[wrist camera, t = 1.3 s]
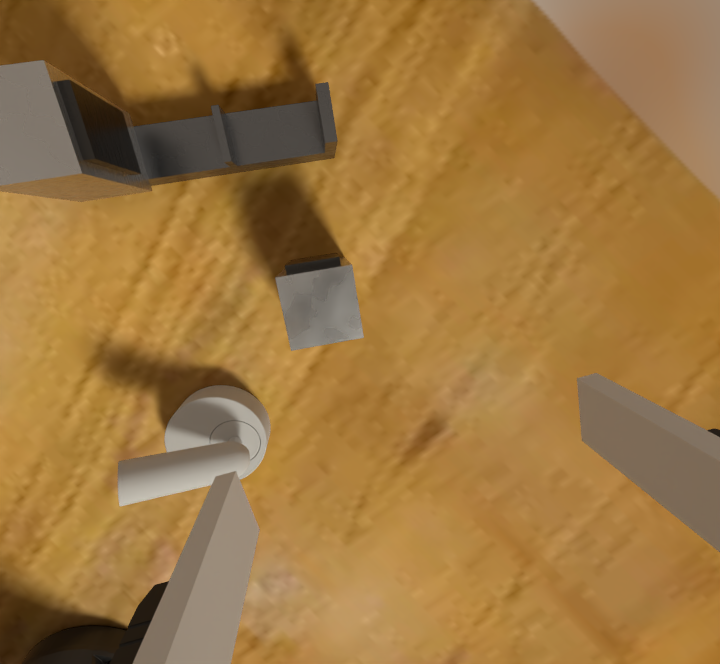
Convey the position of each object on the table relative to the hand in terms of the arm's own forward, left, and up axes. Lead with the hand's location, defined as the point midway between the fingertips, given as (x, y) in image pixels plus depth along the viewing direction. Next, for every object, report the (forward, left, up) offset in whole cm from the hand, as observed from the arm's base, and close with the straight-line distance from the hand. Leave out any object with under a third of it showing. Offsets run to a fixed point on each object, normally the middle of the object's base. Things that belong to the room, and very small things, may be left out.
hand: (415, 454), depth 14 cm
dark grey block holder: (-10, +16, -20) cm, 27 cm away
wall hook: (-15, -7, -20) cm, 26 cm away
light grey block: (-3, +4, -20) cm, 21 cm away
